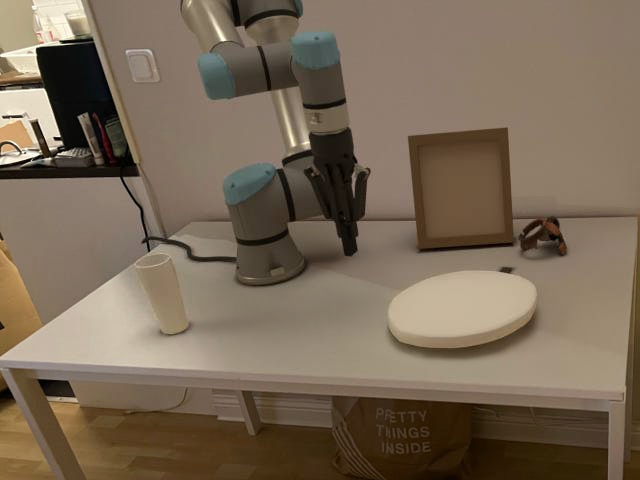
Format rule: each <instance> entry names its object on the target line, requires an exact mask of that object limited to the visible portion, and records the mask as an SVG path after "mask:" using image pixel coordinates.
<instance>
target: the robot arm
mask: <svg viewBox="0 0 640 480" xmlns="http://www.w3.org/2000/svg"><path fill="white" fill-rule="evenodd" d="M179 9H180V15H181V16H182V20H183V22H184V24H185V26H186V27H187V28H188V30H190V31H191V32H192V33H193V34H194V35H195V38H196V40H197V43H198V45H199V47H200V49H201V52H202V54H200V55H199V56H198V57H197V59H196V62H197V63H196V64H197V68H198V72H199V77H200V79H201V83H202V86H203V90H204V93H205V95H206V97H207V98H208V99H210V100H212V101H217V100H218V101H219V100H232V99H235V98H239V97H244V96H251V95H257V94H261V93H268V92H269V94H270V98H271V100H272V105H273V109H274V112H275V117H276V119H277V124H278V127H279V130H280V131H279V132H280V134H281V139H282V142H283V146H284V149H285V151H284V152H285V153H284V155H283V156H282V157H281V159H280V160H281V165H282V167H280V168H277V167H275V166H274V164H273V163H271V162H261V163H259V162H258V163H253V164H250V165H246V166H244V167H241V168H239V169H237V170H235V171H233V172H232V173H230V174H229V175H228V176H226V178H225V179H224V180H223V182H222V192H223V195H224V204H225V205H226V206H227V210H228V214H229V218H230V222H231V227H232V230H233V233H234V238H235V240H236V245H237V247H236V256H229V255H228V256H226V255H224V256H223V255H220V256H219V255H217V256H198V255H194V254H192V250H191V247H190V245H188V244H187V243H185V242H182V241H180V240H176V239H170V238H166V237H165V238H164V237H161V236H153V235H152V236H146V237H144V238H143V239H142V240H141V243H140V244H142V245H144V244H146V243H147V242H148V241H158V242H162V243H168V244H173V245H177V246H181V247H183V248H185V249H186V255H187V257H188V258H189V259H191V260H194V261H200V262H201V261H203V262H207V261H208V262H209V261H232V262H236V263H235V272H236V277H237V279H238V281H240V282H241V283H242V284H245V285H249V286H267V285H273V284H278V283H281V282H284V281H287V280H290V279H292V278H294V277H296V276H297V275H299V274H300V273H301V272H302V271H303V270H304V269H305V267H306V264H305V263H306V262H305V258H304V255H303V254H302V252H301V251H300V250H299V248H298V246H297V244H296V242H295V241H294V239H293V237H292V236H291V234H290V229H289V225H288V224H289V223H293V222H298V221H304V220H307V219H311V218H317V217H320V216H323V217H324V219H325V220H332V221H333V223H334V225H335V229H336V235H337V238H338V239H341V245H342V249H343V250H342V251H343V254H344V257H352V256H353V257H354V255H355V254H356V253H357V252H358V251H359V248H358V242H357V238H358V237H359V235H360V234H359V227H358V222H359V221H361V220H362V218H364V217H365V216H366V208H367V207H366V206H367V205H366V204H367V191H368V190H367V189H368V180H369V177H370V175H371V173H372V170H371V168H370V167H363V166H362V165H361V164H359V162H358V159H357V156H356V155H355V151H354V150H355V145H354V138H353V132H352V128H351V127H349V126H350V125H351V119H350V114H349V113H350V112H349V107H348V101H347V96H346V95H347V94H346V89H345V82H344V75H343V70H342V64H341V51H340V50H339V47H338V42H337V37H336V35H335V34H334V32H332V31H329V30H312V31H304V32H301V33H297V34H296V32H297V31H298V29H299V27H300V20H299V19H300V18H302V17H303V15H304V5H303V0H179ZM238 27H243V28H244V30H245V34H246V36H247V37H248V38H250V39H251V40H253V41H255V43H256V45H253V46H246V45H245V43H244V42H243V39H242V37H241V35H240V33H239V32H238V30H237V28H238ZM353 175H354V179H355V182H354V190H353Z"/></svg>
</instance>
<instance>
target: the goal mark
mask: <svg viewBox="0 0 640 480" xmlns="http://www.w3.org/2000/svg"><path fill="white" fill-rule="evenodd" d="M512 270H513V267H507V266H503V267H502V268H501V269H500V270H499V272H502V273H508V274H511V272H512Z"/></svg>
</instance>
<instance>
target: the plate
mask: <svg viewBox="0 0 640 480" xmlns="http://www.w3.org/2000/svg"><path fill="white" fill-rule="evenodd" d="M537 306H538V293H537V289H536V286H535V285H534V284H533V283H532V281H530V280H528V279H526V278H524V277H522V276H520V275H517V274H512V273H509V274H508V273H502V272H500V271H493V270H475V269H474V270H471V269H470V270H459V271H453V272H447V273H442V274H438V275H434V276H430V277H428V278H426V279H423V280H420V281H417V282H416V283H414V284H412V285H411V286H409V287H407V288H406V289H404V290H402V291H400V293H398V294H397V295H396V296H395V297H394V298H392V301H391V302H390V304H389V305H388V309H387V313H386V322H387V325H388V328H389V330H390V332H391V334H392V336H393V337H395V339H396V340H397V341H398V342H400V343H403V344H407V345H410V346H411V345H412V346H415V347H420V348H430V349H431V348H432V349H458V348H467V347H472V346H478V345H483V344H484V345H485V344H488V343H490V342H491V343H492V342H494V341H497V340H500V339H502V338H504V337H506V336H508V335H510V334H513V333H514V332H516V331H518V330H519V329H522V328H523V327H524V326H526V324H527V323H529V321H530V320H531V319H532V317H533V315H534V314H535V311H536V309H537Z"/></svg>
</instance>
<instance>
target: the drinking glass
mask: <svg viewBox="0 0 640 480" xmlns="http://www.w3.org/2000/svg"><path fill="white" fill-rule="evenodd" d="M134 268H135V272H136V275H137V278H138V280H139V283H140V285H141V288H142V290H143V292H144V295H145V296H146V299H147V300H148V301H147V302H148V303H149V306H150V307H151V309H152V312H153V314H154V316H155V318H156V321H157V323H158V326H159V329H160V330H161V332H162V333H163V334H165V335H177V334H179V333H182V332H184V331H185V330H186V329H188V327H189V320H188V317H187V312H186V309H185V304H184V300H183V296H182V295H183V294H182V291H181V287H180V282H179V279H178V274H177V271H176V268H175V265H174V262H173V260H172V256H171V255H170V254H168V253H165V252H164V253H163V252H159V253H152V254H148V255H145V256H142V257H140V258H139V259H137V260H136V261H135V262H134Z"/></svg>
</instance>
